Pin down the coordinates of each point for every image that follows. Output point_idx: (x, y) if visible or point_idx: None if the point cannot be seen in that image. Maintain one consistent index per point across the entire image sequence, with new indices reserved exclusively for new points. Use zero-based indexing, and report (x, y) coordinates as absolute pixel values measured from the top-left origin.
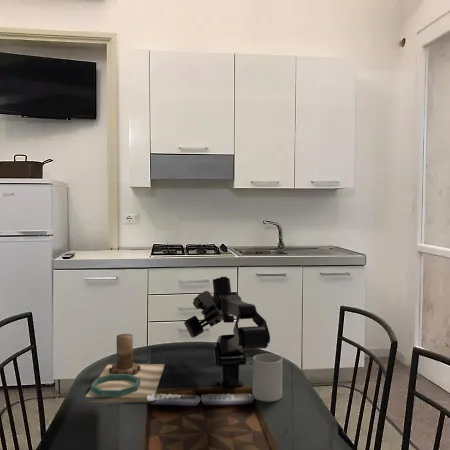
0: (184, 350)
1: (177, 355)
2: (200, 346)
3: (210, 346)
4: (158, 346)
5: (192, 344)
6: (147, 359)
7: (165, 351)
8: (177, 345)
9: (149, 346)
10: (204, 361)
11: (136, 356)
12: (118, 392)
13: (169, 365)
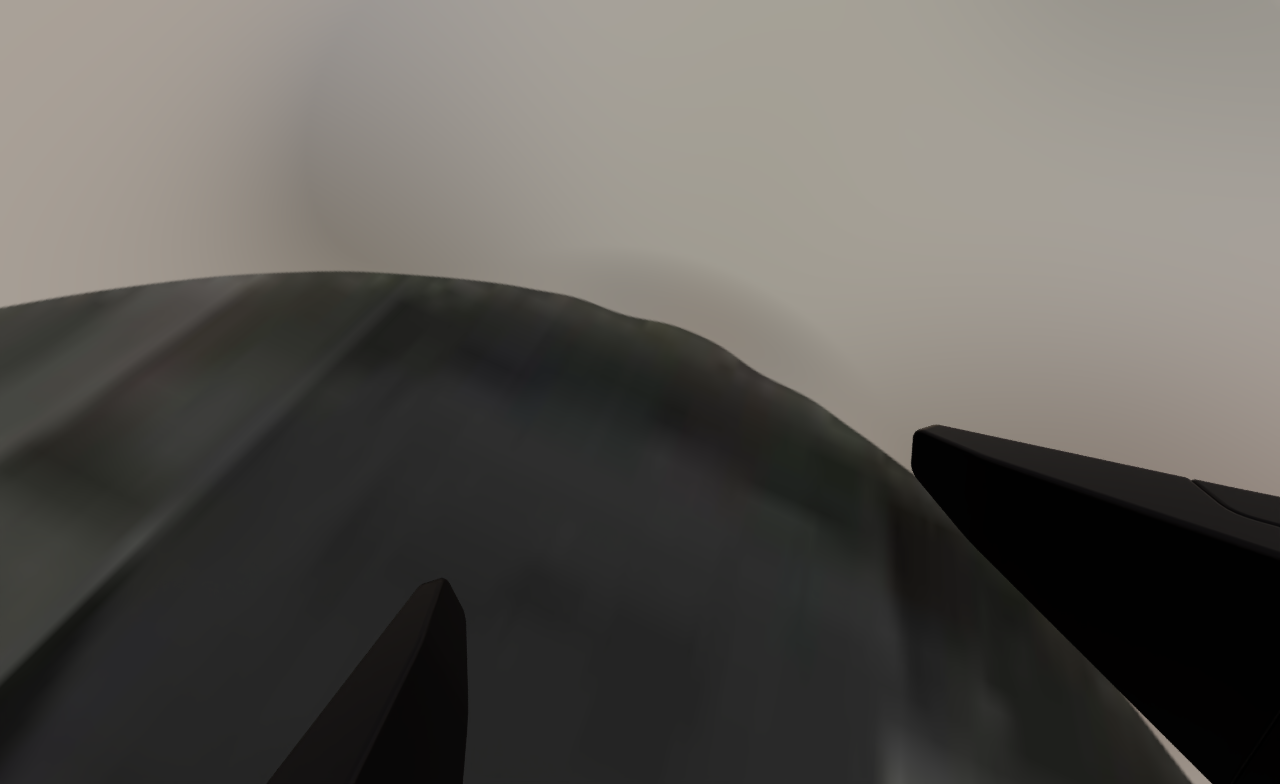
0: (568, 422)
1: (467, 491)
2: (693, 404)
3: (754, 431)
4: (457, 299)
5: (659, 357)
6: (188, 470)
7: (440, 383)
8: (569, 333)
9: (409, 278)
10: (606, 764)
11: (180, 377)
12: None
13: (209, 737)
